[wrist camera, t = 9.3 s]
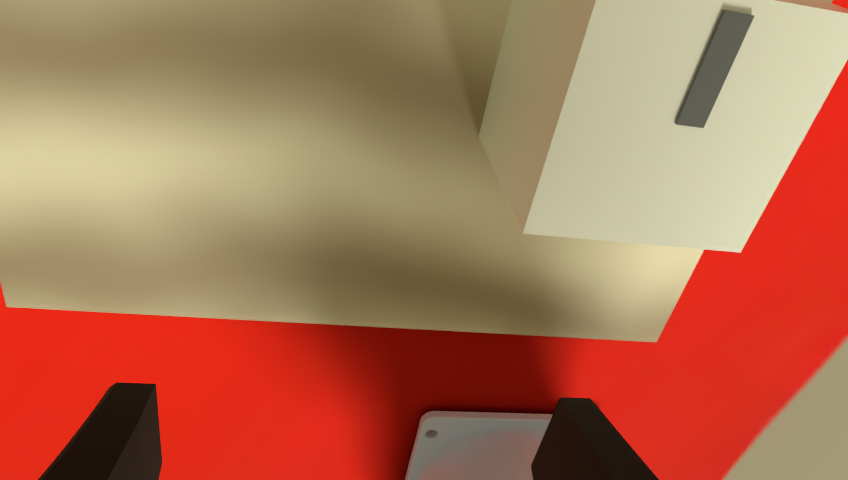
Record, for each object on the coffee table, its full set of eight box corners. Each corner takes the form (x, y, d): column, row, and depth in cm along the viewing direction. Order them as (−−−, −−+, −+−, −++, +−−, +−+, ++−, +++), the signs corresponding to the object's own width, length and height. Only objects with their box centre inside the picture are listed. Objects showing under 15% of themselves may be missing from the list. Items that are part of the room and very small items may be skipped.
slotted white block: (650, 157, 19) (742, 255, 14) (478, 136, 17) (524, 236, 13) (729, -34, 16) (874, 19, 11) (529, -73, 15) (607, -29, 10)
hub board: (645, 324, 24) (702, 415, 20) (20, 286, 20) (-53, 394, 16) (882, -158, 15) (1056, -151, 12) (-137, -415, 11) (-374, -534, 7)
